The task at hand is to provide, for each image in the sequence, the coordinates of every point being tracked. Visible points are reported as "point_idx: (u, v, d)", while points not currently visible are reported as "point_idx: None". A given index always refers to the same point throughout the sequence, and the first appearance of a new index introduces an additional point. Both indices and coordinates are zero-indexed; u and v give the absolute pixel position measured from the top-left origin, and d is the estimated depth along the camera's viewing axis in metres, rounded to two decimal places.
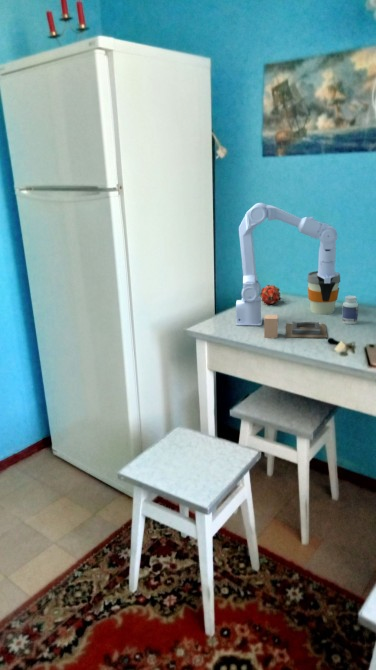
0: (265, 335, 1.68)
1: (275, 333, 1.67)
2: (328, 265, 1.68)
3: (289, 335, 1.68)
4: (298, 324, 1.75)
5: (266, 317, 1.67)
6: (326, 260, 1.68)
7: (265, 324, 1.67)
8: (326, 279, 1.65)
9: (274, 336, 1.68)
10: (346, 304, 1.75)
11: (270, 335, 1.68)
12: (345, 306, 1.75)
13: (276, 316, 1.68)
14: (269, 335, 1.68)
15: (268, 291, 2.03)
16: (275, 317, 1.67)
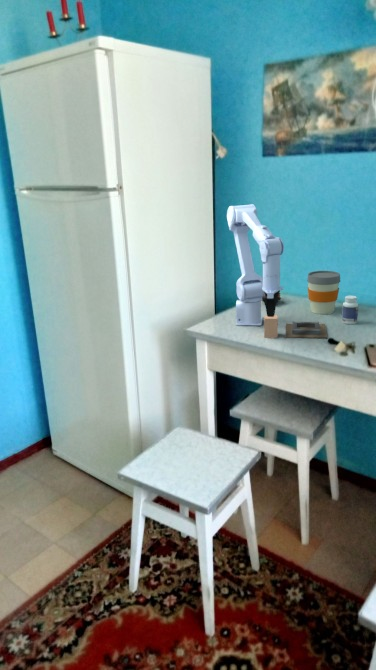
0: (265, 335, 1.68)
1: (275, 333, 1.67)
2: (272, 279, 1.61)
3: (289, 335, 1.68)
4: (298, 324, 1.75)
5: (266, 317, 1.67)
6: (263, 273, 1.62)
7: (265, 324, 1.67)
8: (269, 294, 1.58)
9: (274, 336, 1.68)
10: (346, 304, 1.75)
11: (270, 335, 1.68)
12: (345, 306, 1.75)
13: (276, 316, 1.68)
14: (269, 335, 1.68)
15: None
16: (275, 317, 1.67)
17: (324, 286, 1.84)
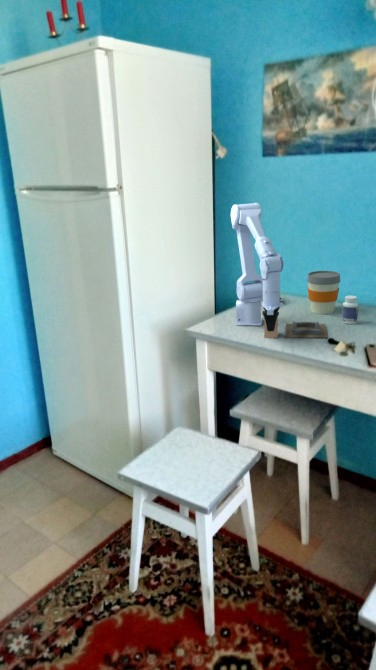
0: (265, 335, 1.68)
1: (275, 333, 1.67)
2: (272, 295, 1.63)
3: (289, 335, 1.68)
4: (298, 324, 1.75)
5: None
6: (263, 289, 1.64)
7: (265, 324, 1.67)
8: (269, 311, 1.60)
9: (274, 336, 1.68)
10: (346, 304, 1.75)
11: (270, 335, 1.68)
12: (345, 306, 1.75)
13: None
14: (269, 335, 1.68)
15: None
16: None
17: (324, 286, 1.84)
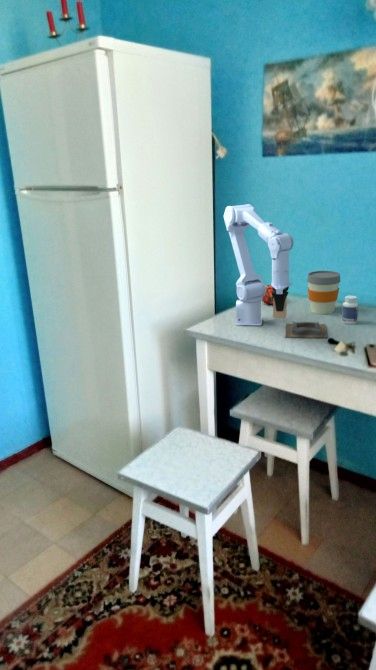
0: (274, 315, 1.66)
1: (284, 313, 1.65)
2: (281, 275, 1.61)
3: (289, 335, 1.68)
4: (298, 324, 1.75)
5: None
6: (273, 269, 1.62)
7: (274, 304, 1.65)
8: (278, 290, 1.58)
9: (283, 316, 1.66)
10: (346, 304, 1.75)
11: (279, 315, 1.66)
12: (345, 306, 1.75)
13: None
14: (278, 315, 1.66)
15: (268, 291, 2.03)
16: None
17: (324, 286, 1.84)
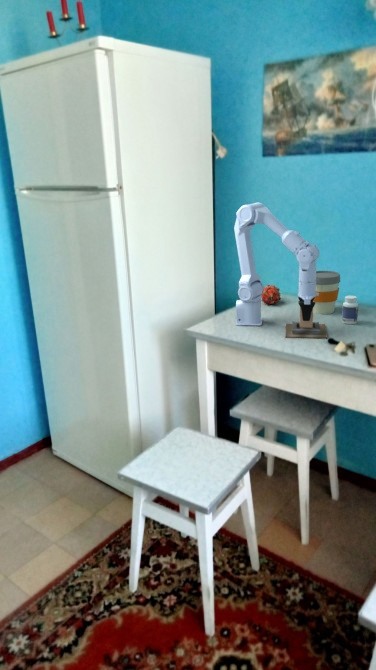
0: (300, 325, 1.70)
1: (310, 323, 1.69)
2: (309, 285, 1.64)
3: (289, 335, 1.68)
4: (298, 324, 1.75)
5: None
6: (303, 280, 1.64)
7: (301, 314, 1.68)
8: (306, 300, 1.61)
9: (309, 326, 1.69)
10: (346, 304, 1.75)
11: (305, 325, 1.69)
12: (345, 306, 1.75)
13: None
14: (304, 325, 1.69)
15: (268, 291, 2.03)
16: None
17: (324, 286, 1.84)
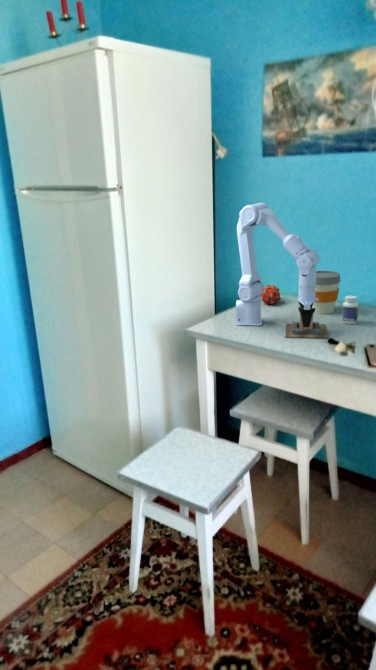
0: None
1: (310, 327, 1.69)
2: (308, 290, 1.64)
3: (289, 335, 1.68)
4: (298, 324, 1.75)
5: None
6: (303, 285, 1.64)
7: (301, 318, 1.69)
8: (306, 305, 1.62)
9: None
10: (346, 304, 1.75)
11: None
12: (345, 306, 1.75)
13: None
14: None
15: (268, 291, 2.03)
16: None
17: (324, 286, 1.84)
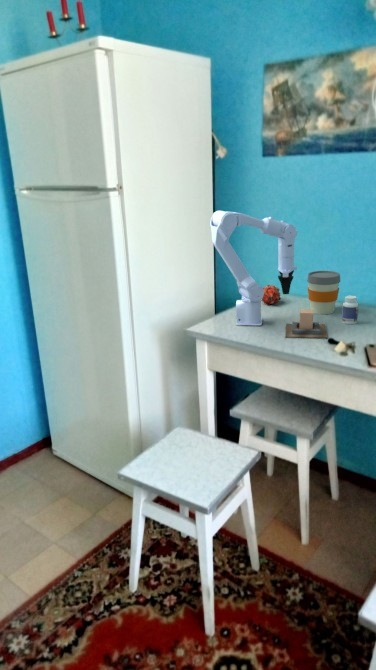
0: None
1: (310, 327, 1.69)
2: (287, 260, 1.78)
3: (289, 335, 1.68)
4: (298, 324, 1.75)
5: (301, 311, 1.69)
6: (289, 255, 1.78)
7: (301, 318, 1.69)
8: (284, 273, 1.76)
9: None
10: (346, 304, 1.75)
11: None
12: (345, 306, 1.75)
13: (311, 310, 1.70)
14: None
15: (268, 291, 2.03)
16: (310, 311, 1.69)
17: (324, 286, 1.84)
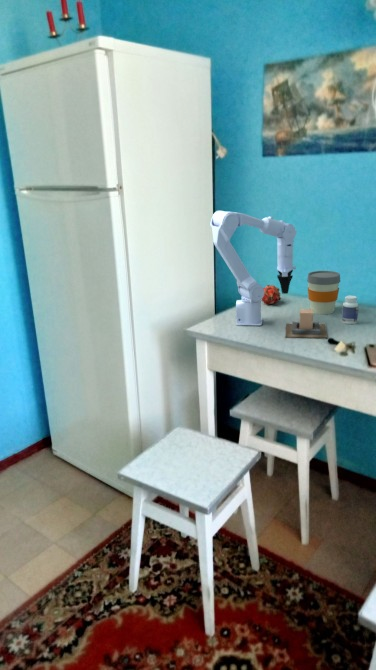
0: None
1: (310, 327, 1.69)
2: (286, 259, 1.79)
3: (289, 335, 1.68)
4: (298, 324, 1.75)
5: (301, 311, 1.69)
6: (288, 254, 1.79)
7: (301, 318, 1.69)
8: (283, 273, 1.77)
9: None
10: (346, 304, 1.75)
11: None
12: (345, 306, 1.75)
13: (311, 310, 1.70)
14: None
15: (268, 291, 2.03)
16: (310, 311, 1.69)
17: (324, 286, 1.84)
